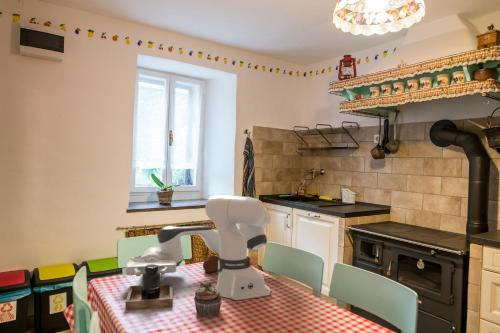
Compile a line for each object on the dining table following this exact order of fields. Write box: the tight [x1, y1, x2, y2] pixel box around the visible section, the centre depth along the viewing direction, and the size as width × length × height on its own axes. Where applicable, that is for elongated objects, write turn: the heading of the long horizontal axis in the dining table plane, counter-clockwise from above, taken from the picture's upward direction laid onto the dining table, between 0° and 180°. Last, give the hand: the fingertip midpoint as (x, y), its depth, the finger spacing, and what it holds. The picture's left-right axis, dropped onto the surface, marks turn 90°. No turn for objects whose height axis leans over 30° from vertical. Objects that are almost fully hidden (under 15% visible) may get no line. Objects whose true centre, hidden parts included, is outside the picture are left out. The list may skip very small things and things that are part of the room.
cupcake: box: [193, 281, 223, 319], centre depth 119 cm, size 10×10×10 cm
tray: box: [125, 283, 174, 311], centre depth 129 cm, size 16×16×3 cm
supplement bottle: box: [141, 264, 162, 300], centre depth 129 cm, size 7×7×12 cm
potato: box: [202, 255, 219, 274], centre depth 166 cm, size 8×11×8 cm
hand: (150, 273), depth 135 cm, fingers open, 8 cm apart
